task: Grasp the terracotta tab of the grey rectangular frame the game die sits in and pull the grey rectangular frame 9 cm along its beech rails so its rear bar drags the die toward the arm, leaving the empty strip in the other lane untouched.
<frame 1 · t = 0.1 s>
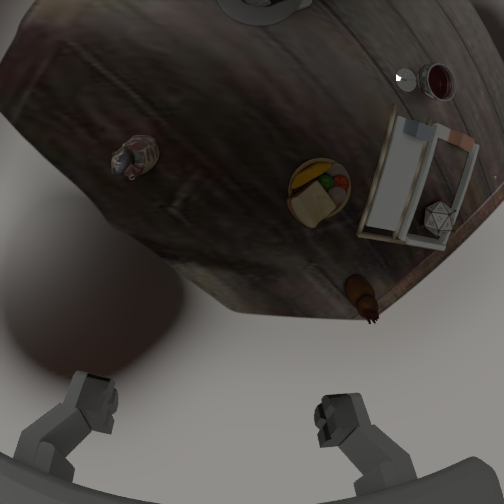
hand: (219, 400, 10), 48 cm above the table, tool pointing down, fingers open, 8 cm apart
game die: (429, 211, 60), on the table
lane rails: (424, 183, 56), on the table
figurine: (142, 152, 51), on the table
wineglass: (406, 80, 45), on the table
inner strip: (403, 179, 53), point 3 cm above the table, slide at 0.0 cm
grey rectangular frame: (445, 191, 55), point 3 cm above the table, slide at 0.0 cm
toy sandwich meal: (317, 190, 57), on the table
wooden figurine: (353, 281, 69), on the table
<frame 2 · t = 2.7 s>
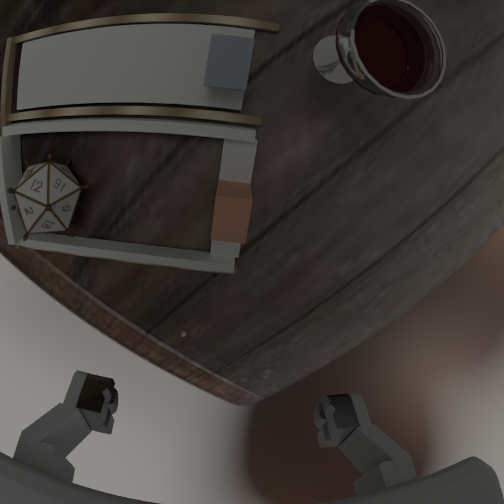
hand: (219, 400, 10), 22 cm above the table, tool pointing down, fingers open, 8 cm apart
game die: (66, 183, 27), on the table
lane rails: (113, 143, 26), on the table
wineglass: (338, 59, 23), on the table
inner strip: (106, 61, 19), point 3 cm above the table, slide at 0.0 cm
grey rectangular frame: (104, 196, 26), point 3 cm above the table, slide at 0.0 cm
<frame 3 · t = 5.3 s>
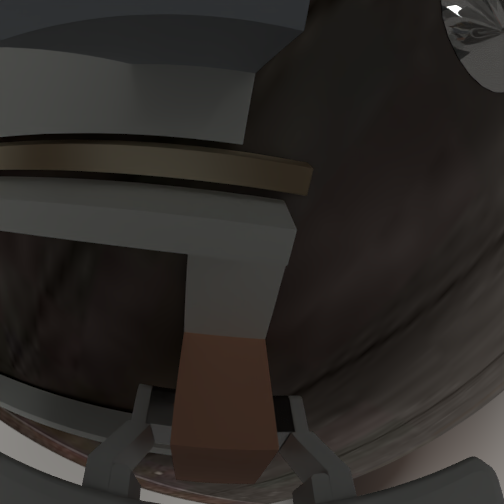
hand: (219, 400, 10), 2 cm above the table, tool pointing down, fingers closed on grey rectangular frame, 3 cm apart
wineglass: (485, 32, 6), on the table
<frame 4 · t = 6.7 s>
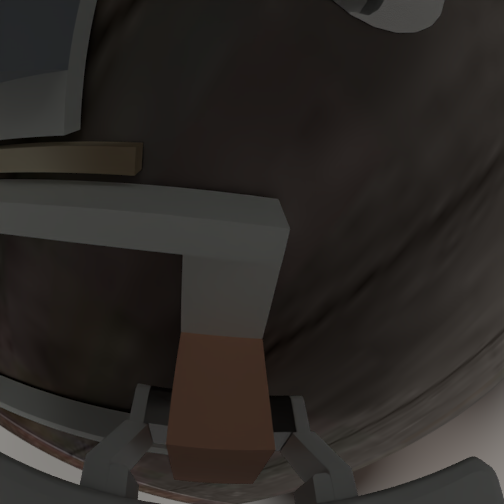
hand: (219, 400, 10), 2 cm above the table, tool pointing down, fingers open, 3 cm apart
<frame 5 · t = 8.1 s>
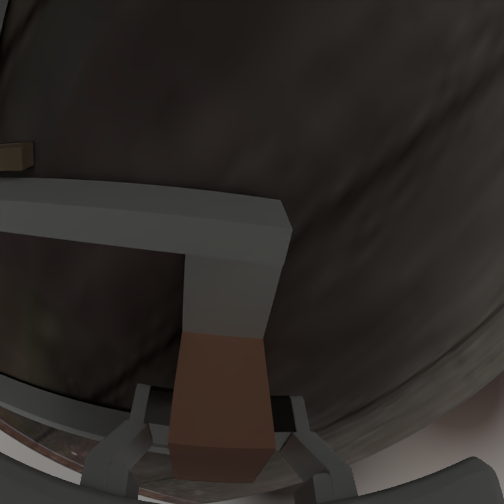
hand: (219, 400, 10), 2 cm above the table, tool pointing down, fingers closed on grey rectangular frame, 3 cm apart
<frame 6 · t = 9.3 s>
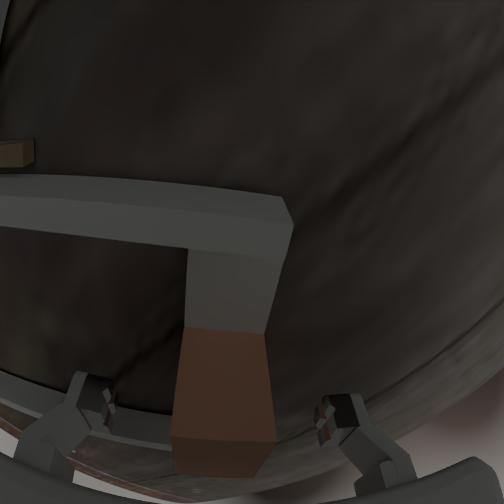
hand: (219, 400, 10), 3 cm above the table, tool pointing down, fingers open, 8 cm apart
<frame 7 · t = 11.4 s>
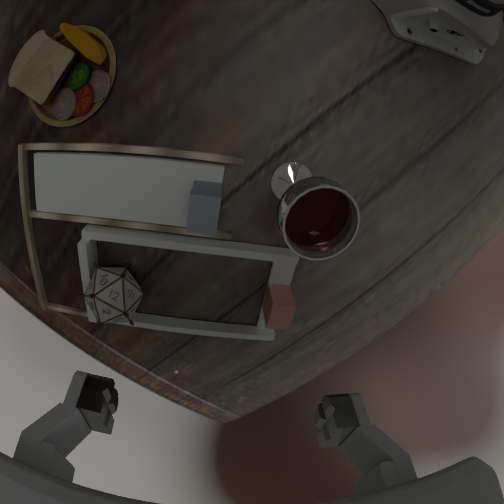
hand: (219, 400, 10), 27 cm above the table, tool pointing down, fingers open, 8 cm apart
game die: (121, 276, 39), on the table
lane rails: (120, 245, 36), on the table
wineglass: (292, 182, 34), on the table
inner strip: (111, 194, 30), point 3 cm above the table, slide at 0.0 cm
grey rectangular frame: (184, 295, 37), point 3 cm above the table, slide at 9.0 cm
toy sandwich meal: (68, 76, 25), on the table
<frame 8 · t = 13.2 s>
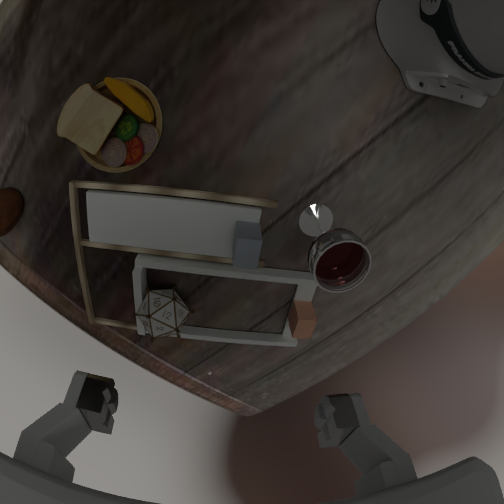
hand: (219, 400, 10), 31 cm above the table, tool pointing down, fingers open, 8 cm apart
game die: (167, 295, 47), on the table
lane rails: (167, 270, 44), on the table
wineglass: (315, 220, 41), on the table
inner strip: (164, 232, 37), point 3 cm above the table, slide at 0.0 cm
grey rectangular frame: (224, 312, 45), point 3 cm above the table, slide at 9.0 cm
toy sandwich meal: (113, 124, 33), on the table
wooden figurine: (16, 201, 36), on the table
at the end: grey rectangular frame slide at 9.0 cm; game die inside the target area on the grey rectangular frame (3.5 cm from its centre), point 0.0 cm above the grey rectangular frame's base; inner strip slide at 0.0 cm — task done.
